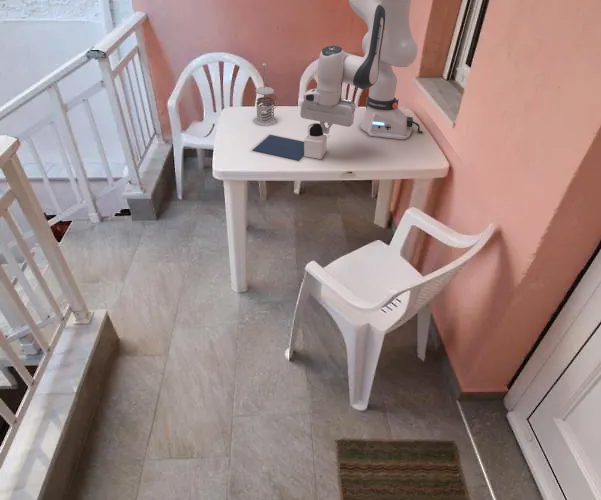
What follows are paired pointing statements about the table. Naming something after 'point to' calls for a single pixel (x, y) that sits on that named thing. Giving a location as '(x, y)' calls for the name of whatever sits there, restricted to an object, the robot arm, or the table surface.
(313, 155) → the medicine bottle
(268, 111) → the french press
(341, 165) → the table surface
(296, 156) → the mat
